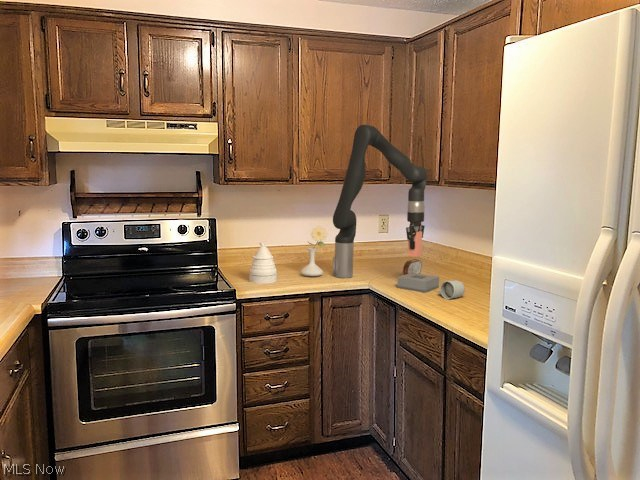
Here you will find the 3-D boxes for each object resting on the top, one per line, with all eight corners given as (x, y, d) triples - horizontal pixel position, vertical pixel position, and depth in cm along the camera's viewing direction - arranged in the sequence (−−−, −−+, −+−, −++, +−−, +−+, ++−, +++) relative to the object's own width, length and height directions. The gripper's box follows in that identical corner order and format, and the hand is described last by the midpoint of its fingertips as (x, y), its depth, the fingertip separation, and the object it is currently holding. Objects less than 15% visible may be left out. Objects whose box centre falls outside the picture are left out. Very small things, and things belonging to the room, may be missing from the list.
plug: (408, 255, 243) (408, 225, 241) (412, 254, 247) (413, 224, 245) (417, 256, 240) (417, 225, 239) (421, 255, 244) (422, 225, 242)
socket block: (397, 287, 244) (397, 277, 243) (411, 282, 255) (411, 272, 254) (425, 292, 236) (426, 281, 235) (438, 287, 247) (439, 276, 246)
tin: (417, 273, 278) (417, 257, 277) (422, 274, 276) (423, 258, 275) (402, 278, 266) (402, 261, 265) (407, 279, 264) (408, 262, 263)
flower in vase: (297, 277, 263) (298, 226, 260) (303, 272, 274) (304, 224, 271) (323, 278, 260) (324, 227, 257) (328, 274, 271) (329, 225, 268)
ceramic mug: (465, 298, 227) (466, 280, 226) (453, 300, 222) (454, 282, 221) (445, 293, 236) (446, 276, 235) (433, 296, 230) (434, 278, 230)
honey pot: (246, 278, 258) (246, 241, 255) (272, 277, 262) (272, 240, 260) (253, 284, 246) (253, 245, 243) (280, 282, 250) (280, 244, 248)
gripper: (415, 209, 249) (414, 246, 251) (400, 211, 238) (400, 249, 240) (430, 210, 244) (429, 247, 246) (416, 212, 233) (415, 251, 235)
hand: (414, 248), depth 243 cm, fingers closed on plug, 4 cm apart
